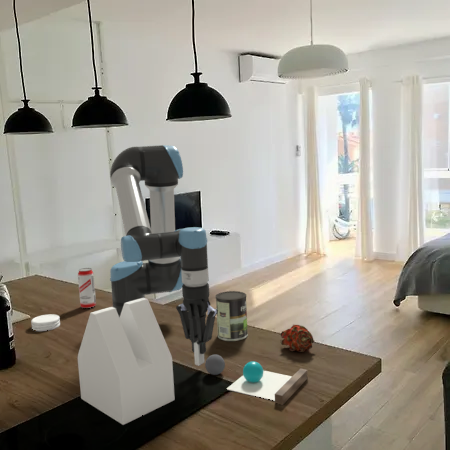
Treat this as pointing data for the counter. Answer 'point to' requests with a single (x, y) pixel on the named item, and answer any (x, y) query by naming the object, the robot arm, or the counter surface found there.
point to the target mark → (261, 385)
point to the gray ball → (215, 364)
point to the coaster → (45, 322)
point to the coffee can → (231, 315)
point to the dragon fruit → (297, 338)
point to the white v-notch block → (125, 362)
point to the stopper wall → (291, 386)
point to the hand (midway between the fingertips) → (199, 363)
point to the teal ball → (253, 372)
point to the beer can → (86, 288)
